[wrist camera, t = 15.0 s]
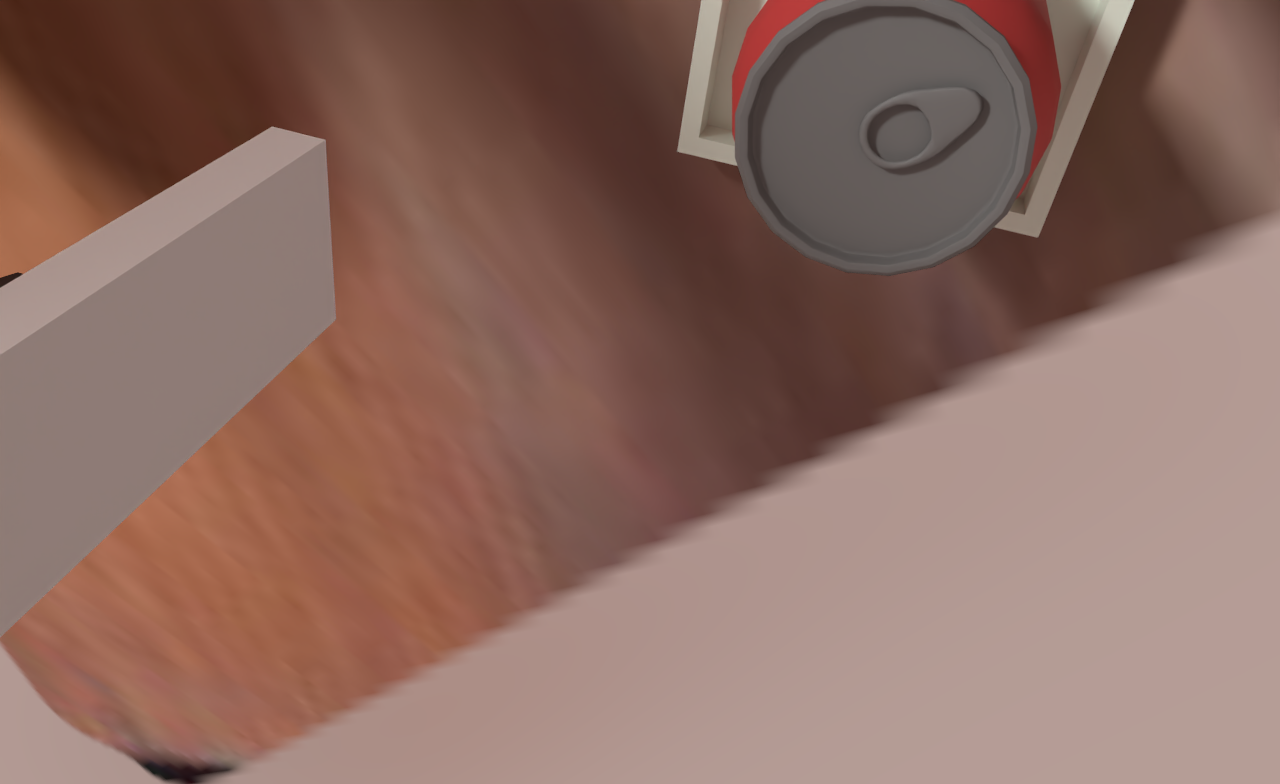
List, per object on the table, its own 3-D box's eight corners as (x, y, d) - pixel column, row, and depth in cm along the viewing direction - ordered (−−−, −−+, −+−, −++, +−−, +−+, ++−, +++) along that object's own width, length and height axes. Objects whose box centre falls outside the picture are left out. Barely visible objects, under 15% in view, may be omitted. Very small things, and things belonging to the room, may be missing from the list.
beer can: (1073, 53, 28) (1118, 232, 19) (853, 146, 31) (793, 340, 22) (991, -185, 26) (992, -119, 16) (760, -58, 29) (647, 60, 19)
